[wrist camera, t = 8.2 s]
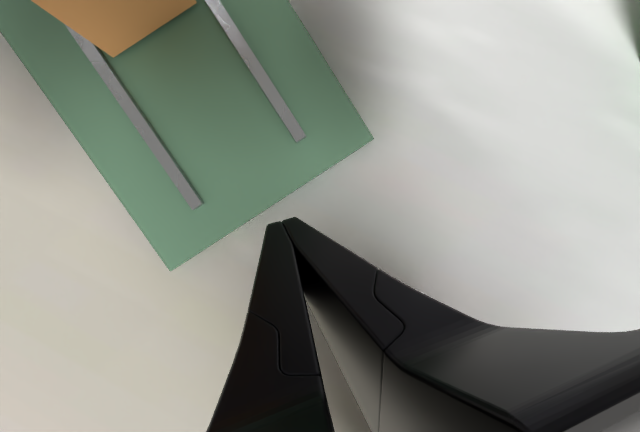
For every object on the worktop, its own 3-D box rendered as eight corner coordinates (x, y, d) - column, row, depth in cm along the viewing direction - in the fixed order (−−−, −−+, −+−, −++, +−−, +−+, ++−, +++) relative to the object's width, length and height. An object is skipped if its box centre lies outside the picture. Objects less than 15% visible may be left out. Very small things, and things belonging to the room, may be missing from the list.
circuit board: (371, 140, 18) (373, 138, 18) (174, 268, 18) (170, 271, 18) (136, -238, 16) (130, -254, 16) (-81, -94, 17) (-96, -105, 16)
